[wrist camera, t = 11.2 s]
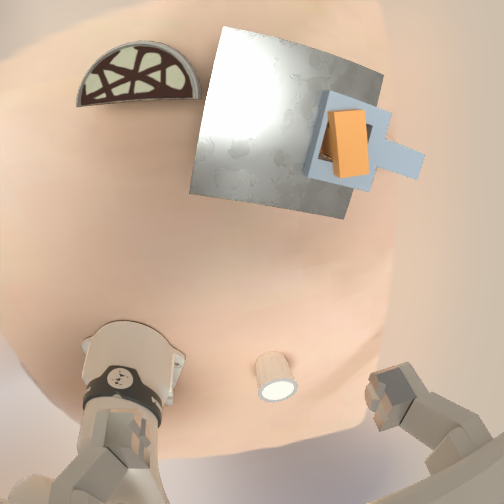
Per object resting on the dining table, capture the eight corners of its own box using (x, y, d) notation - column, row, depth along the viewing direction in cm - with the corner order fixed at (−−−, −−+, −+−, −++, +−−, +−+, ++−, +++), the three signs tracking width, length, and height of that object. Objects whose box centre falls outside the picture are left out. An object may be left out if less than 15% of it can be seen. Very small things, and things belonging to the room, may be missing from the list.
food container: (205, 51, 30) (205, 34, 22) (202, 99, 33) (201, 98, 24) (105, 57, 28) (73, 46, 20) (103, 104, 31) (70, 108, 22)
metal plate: (314, 191, 41) (343, 219, 32) (193, 170, 37) (189, 193, 28) (343, 77, 34) (383, 75, 25) (218, 45, 30) (223, 26, 21)
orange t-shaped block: (334, 156, 34) (369, 174, 27) (310, 159, 34) (340, 178, 26) (329, 105, 31) (364, 109, 24) (304, 108, 31) (333, 112, 24)
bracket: (398, 195, 33) (412, 204, 30) (298, 170, 30) (307, 177, 28) (418, 128, 29) (434, 132, 27) (318, 90, 27) (329, 90, 24)
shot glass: (256, 348, 53) (263, 378, 46) (293, 349, 54) (303, 378, 48) (249, 373, 56) (254, 402, 49) (283, 373, 57) (291, 401, 51)
